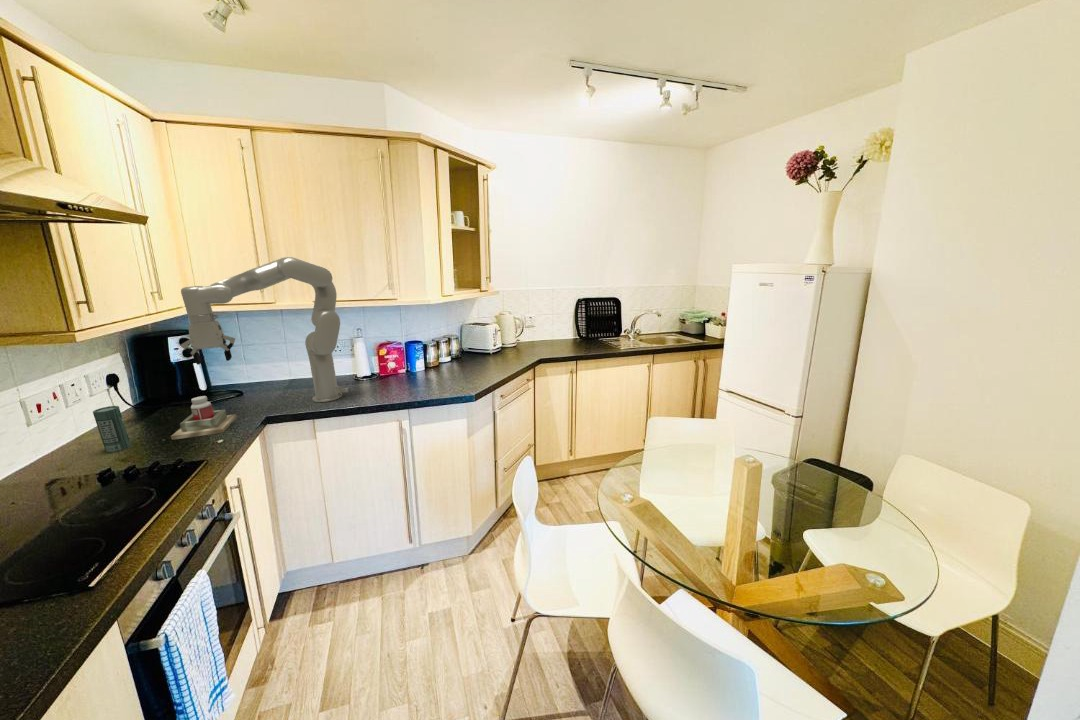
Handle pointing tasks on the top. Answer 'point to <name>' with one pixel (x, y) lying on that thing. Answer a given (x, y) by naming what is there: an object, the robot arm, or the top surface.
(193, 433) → the socket board
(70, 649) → the top surface
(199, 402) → the pill bottle
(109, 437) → the can
